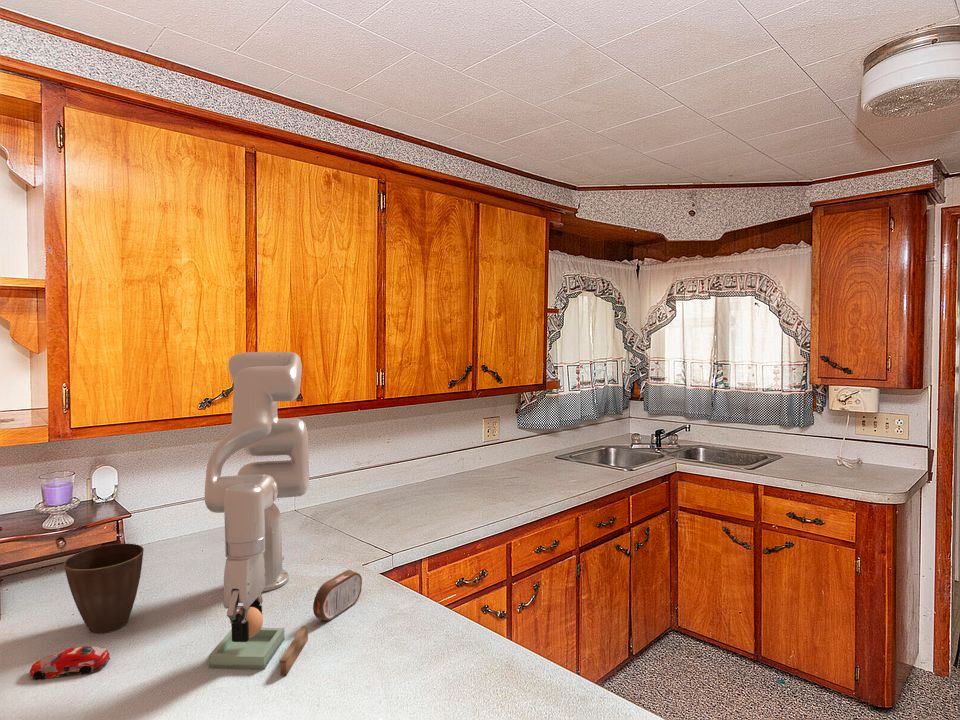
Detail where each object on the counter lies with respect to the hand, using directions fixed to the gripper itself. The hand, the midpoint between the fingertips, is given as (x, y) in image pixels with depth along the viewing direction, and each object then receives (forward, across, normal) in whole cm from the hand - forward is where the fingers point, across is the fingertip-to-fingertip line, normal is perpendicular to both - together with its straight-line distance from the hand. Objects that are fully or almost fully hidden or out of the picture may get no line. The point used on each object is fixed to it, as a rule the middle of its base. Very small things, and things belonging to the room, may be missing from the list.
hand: (247, 631), depth 122 cm
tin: (+5, -18, +14) cm, 23 cm away
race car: (+5, +6, -32) cm, 33 cm away
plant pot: (+5, -10, -36) cm, 38 cm away
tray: (+5, 0, 0) cm, 5 cm away
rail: (+5, +1, +10) cm, 11 cm away
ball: (+1, 0, 0) cm, 1 cm away
